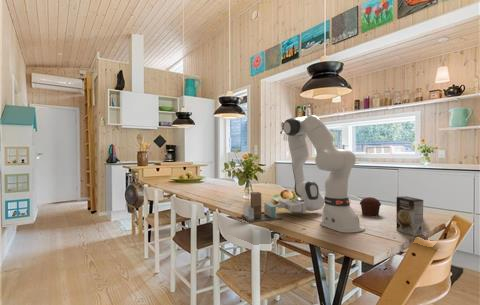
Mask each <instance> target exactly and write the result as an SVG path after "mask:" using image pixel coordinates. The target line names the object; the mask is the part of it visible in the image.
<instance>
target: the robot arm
mask: <svg viewBox="0 0 480 305" xmlns="http://www.w3.org/2000/svg"><path fill="white" fill-rule="evenodd" d="M283 132H284V133H285V134H286V135H287V142H288V148H289V154H290V156H291V157H290V158H291V165H292V171H293V178H294V189H293V190H294V193H295V195H296V196H295V197H293V199H288V198H283V199H282V198H281V199H278V201H277V202H278V203H276V204H275V206H276V208H278V209H285V210H287V211H289V212H291V213H301V214H302V213H304V214H305V213H306V212H307V211H309V212H312V211H313V212H314V211H319V210H321V209H322V213H321V214H322V216H321V221H320V222H319V225H320V226H322V227H325V228H328V229H331V230H334V231H337V232H339V233H346V234H347V233H358V232H364V231H366V228H365V226H363V225H361V224H360V223H361V222H360V217H359V215H358V214H357V213H356V212H355V211H354V209H353V208H352V207H351V204H352V202H351V201H350V199H349V197H348V186H349V185H348V183H349V178H350V174H351V171H352V169H353V167H354V166H355V164H356V162H357V160H356V155H355V153H353V152H352V151H350V150H347V149H337V148H336V147H335V145H334V144H333V143H334V136H333V135H332V133H331V132H330V131H329V129H328V128H327V125H326V124H324V122H323V121H322V120H321V119H320V118H319V117H318V116H316V115H314V114H312V115H308V116H296V117H290V118H287V119H286V120H285V121H284V123H283ZM306 137H308V139H309V140H310V142H311V144H312V146H313V147H314V149H315V152H316V156H315V159H314V160H315V161H314V162H315V165H316V167H317V168H318V170H320V171H325V172H330V173H329V175H328V178H327V179H326V180H325V182H324V184H325V185H324V188H325V189H324V196H322V194H321V193H320V191H319V185H318V184H317V182H316V181H313V180H308V181H306V180H305V174H304V170H303V168H304V165H305V163H306V162H307V161H308V159H309V156H310V155H309V147H308V144H307V140H306Z"/></svg>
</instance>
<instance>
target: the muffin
mask: <svg viewBox="0 0 480 305" xmlns="http://www.w3.org/2000/svg"><path fill="white" fill-rule="evenodd" d="M359 205H360V207H361V214H362V216H366V217H379V213H380V210H381V209H380V208H381V206H382V203H381V202H380V200H378V199H377V198H375V197H371V196H370V197H365V198H362V199H361V200H360V202H359Z"/></svg>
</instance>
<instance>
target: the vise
mask: <svg viewBox="0 0 480 305" xmlns="http://www.w3.org/2000/svg"><path fill="white" fill-rule="evenodd" d="M242 206H243V207H242V208H243V213H242V214H241V216H242V217H243V218H244V219H245V220H246V221H247V222H248V223H253V222H255V223H256V222H265V221H277V220H278V221H279V220H283V217H282V216H280V217H277V216H276V218H271V217H268V218H266V216H264V214H265V213H264V211H261V215H262V217H261V218H254V208H253V207H252V206H251V204H249V203H244V204H242ZM265 215H266V214H265Z"/></svg>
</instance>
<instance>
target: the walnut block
mask: <svg viewBox="0 0 480 305" xmlns="http://www.w3.org/2000/svg"><path fill="white" fill-rule="evenodd" d="M250 206H252V207H253V208H254V218H261V217H262V216H263V214H261V212H262V193H261V192H260V191H253V192H252V191H251V192H250Z"/></svg>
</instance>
